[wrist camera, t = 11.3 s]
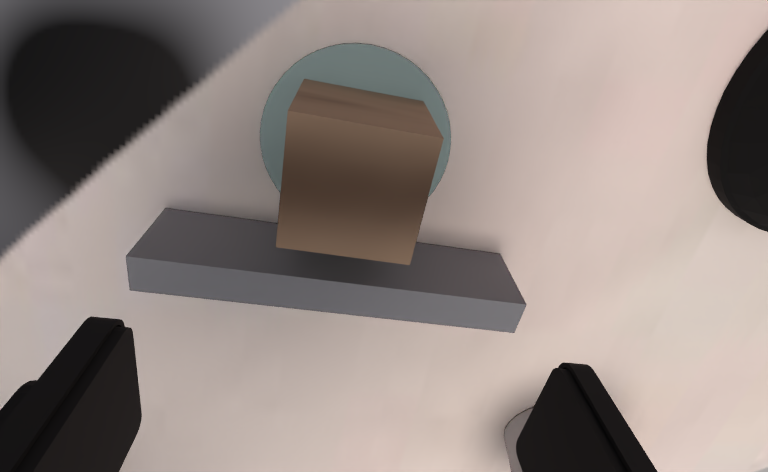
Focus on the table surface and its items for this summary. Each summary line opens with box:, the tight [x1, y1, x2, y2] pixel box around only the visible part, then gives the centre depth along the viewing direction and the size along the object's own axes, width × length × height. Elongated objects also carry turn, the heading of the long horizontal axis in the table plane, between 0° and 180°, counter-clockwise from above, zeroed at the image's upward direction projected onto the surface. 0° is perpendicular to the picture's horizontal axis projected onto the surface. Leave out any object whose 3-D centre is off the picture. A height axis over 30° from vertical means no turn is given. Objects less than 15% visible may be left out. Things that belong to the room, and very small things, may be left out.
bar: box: [126, 208, 526, 333], centre depth 25 cm, size 2×20×5 cm, turn 79°
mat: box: [260, 43, 451, 197], centre depth 24 cm, size 10×10×1 cm
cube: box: [276, 79, 444, 265], centre depth 21 cm, size 6×6×6 cm
